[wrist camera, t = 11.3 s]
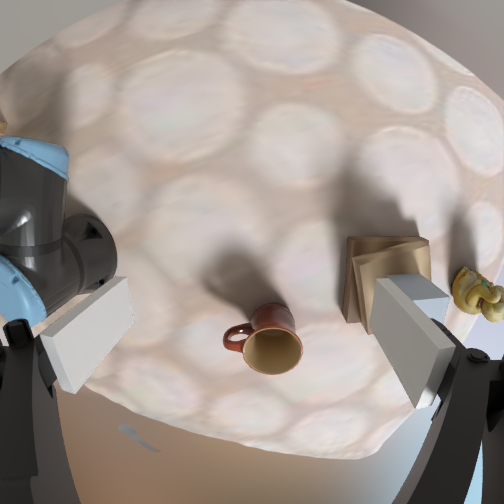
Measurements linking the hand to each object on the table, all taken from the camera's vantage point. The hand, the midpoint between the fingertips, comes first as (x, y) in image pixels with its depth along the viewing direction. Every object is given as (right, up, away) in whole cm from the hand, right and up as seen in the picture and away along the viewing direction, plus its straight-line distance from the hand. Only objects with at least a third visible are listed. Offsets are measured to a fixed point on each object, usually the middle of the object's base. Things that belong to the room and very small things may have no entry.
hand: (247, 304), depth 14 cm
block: (+23, -4, +25) cm, 34 cm away
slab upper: (+23, -2, +29) cm, 37 cm away
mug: (+2, -9, +35) cm, 37 cm away
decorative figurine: (+43, -4, +32) cm, 54 cm away
